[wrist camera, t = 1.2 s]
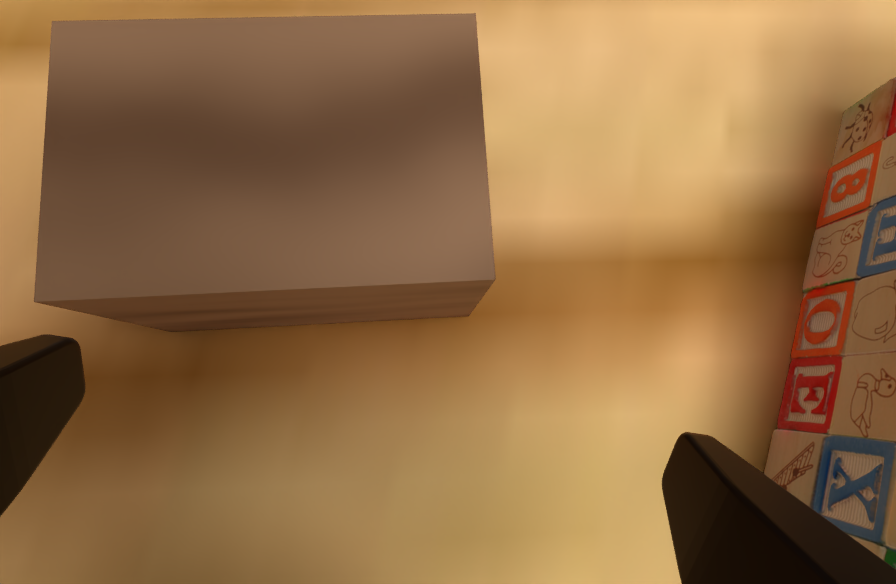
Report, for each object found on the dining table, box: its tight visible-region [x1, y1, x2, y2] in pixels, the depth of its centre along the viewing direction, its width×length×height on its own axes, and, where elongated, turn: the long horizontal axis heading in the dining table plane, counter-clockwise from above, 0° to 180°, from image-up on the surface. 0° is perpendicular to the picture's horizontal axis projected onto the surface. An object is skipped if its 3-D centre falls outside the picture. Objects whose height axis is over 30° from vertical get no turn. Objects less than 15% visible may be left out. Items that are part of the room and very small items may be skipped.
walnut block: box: [34, 13, 495, 332], centre depth 19 cm, size 8×12×8 cm, turn 93°
